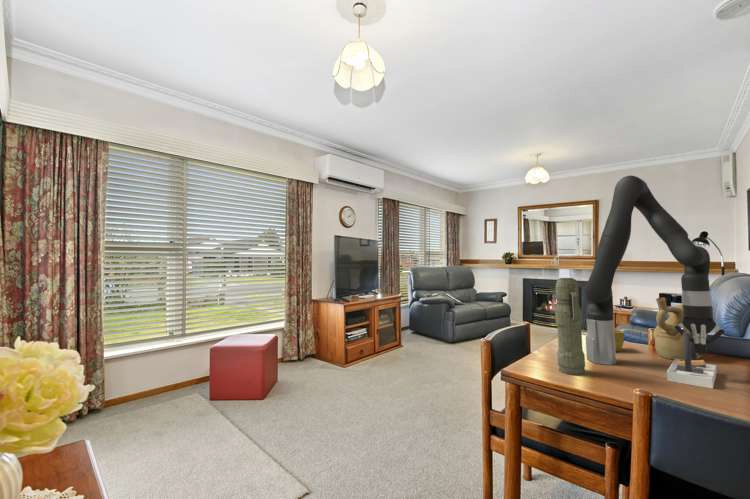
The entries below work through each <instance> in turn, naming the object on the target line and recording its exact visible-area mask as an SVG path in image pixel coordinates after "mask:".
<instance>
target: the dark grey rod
mask: <svg viewBox="0 0 750 499" xmlns="http://www.w3.org/2000/svg"><path fill="white" fill-rule="evenodd" d="M689 335H690V336H691V337H692V338H693V335H692V332H690V331H689ZM690 350H691V360H697V353H696V352H695V345H694V343H693V342H691V341H690Z"/></svg>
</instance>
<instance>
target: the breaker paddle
mask: <svg viewBox="0 0 750 499" xmlns="http://www.w3.org/2000/svg"><path fill="white" fill-rule="evenodd" d="M705 362H706V361H705V360H704V359H698V360H692V361H691V365H692V367H693V365H705ZM677 364H678V365H684V366H685V361H678V362H677Z"/></svg>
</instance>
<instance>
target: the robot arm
mask: <svg viewBox="0 0 750 499" xmlns="http://www.w3.org/2000/svg"><path fill="white" fill-rule="evenodd" d="M635 208H636V209H637V210H638V211H639V212H640V213H641V215H643V217H644V218H645V220H646V221H647V222H648V224H649V226H650V227H651V228H652V230H653V231H654V233H655V234H656V235H657V236H658V237H659V238H660V239H661V240H662V241H663V243H665V244H666V246H667V248H668V250H669V251H670V253H671V255H672V257H674V259H675V260H676V261H677V262H678V263H679V264H680V265H683V266H684V269H683V270H684V271H683V274H682V275H681V277H680V278H681V281H680V282H681V304H682V307H683V320H682V323H681V324H679V325H676V326H675V329H676V330H677V331H678V332H679V333H680V334H681V335H682V336H683V333H684V332H686V331H685V330H684V329H685V328H684V326H685V327H686V328H687V329H688V330H689V331H690V332H692V335H693V338H692V337H691V336H690V335H689V338H690V341H691V342H693V343H694V345H695V352H696V353H698V355H702V356H705V355H706V354H707V353H708V351H707V345H708V344H713V343H714V342H715V341H717V339H719V338H720V337H721V336H722V335H723V334H724V333H725V331H726V330H725V328H723V327H722V328H721V327H720V326H718V325H717V322H716V321H715V319H714V307H713V299H712V294H711V287H710V280H709V279H710V278H709V275H710V269H711V268H710V267H711V256H710V253H709V251H708V250H707V248H705V247H703V246H699V245H695V244H694V243H693V241H692V240H691V239H690V237H689V234H688V232H687V230H686V229H685V228H684V227H683V226H682V225H681V224H680V223H679V222H678V221H677V220H676V219H675V217H673V216H672V215H671V214H670V213H669V212H668V211H667V210H666V209H665V208H664V207H663V206H662V205H661V204H660V203H659V202H658V200H657V199H656V198H655V196H654V194H653V193H652V191H651V190H650V188H649V186H648V184H647V182H646V181H645V180H643V179H642V178H640V177H638V176H635V175H626V176H623V177H622V178H620V179H619V180H618V181H617V183H616V185H615V186H614V191H613V196H612V201H611V207H610V210H609V213H608V216H607V219H606V222H605V225H604V228H603V231H602V232H601V236H600V240H599V242H598V246H597V249H596V255H595V259H594V264H593V265H594V266H593V268H592V271H591V274H590V276H589V278H588V280H587V282H586V284H585V286H584V289H583V291H584V292H583V293H584V296H585V298H586V300H585V301H586V311H585V312H586V313H585V315H586V316H585V317H586V329H587V333H586V334H587V335H586V336H585V350H586V360H588V361H589V362H591V363H593V364H598V365H599V364H601V365H616V364H617V353H616V352H617V351H616V350H615V335H614V329H615V325H614V324H615V322H614V321H615V320H614V300H613V299H614V297H613V289H612V288H613V282H614V277H615V274H616V270H617V269H618V268H619V265H620V263H621V261H622V260H623V257H624V255H625V253H626V251H627V247H628V245H629V242H630V239H631V234H632V233H631V232H632V216H633V215H632V214H633V212H634V209H635ZM712 330H714V334H712V336H710V337H709V338H707V335H708V334H710V333H711V331H712ZM698 333H700V334H701V343H699V335H698Z"/></svg>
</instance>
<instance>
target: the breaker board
mask: <svg viewBox="0 0 750 499" xmlns="http://www.w3.org/2000/svg"><path fill="white" fill-rule="evenodd" d="M678 361H685V359H675V360H673V361H672V363H671V364H670V366H669V367H668V368H667V370H666V381H668V382H673V383H680V384H685V385H690V386H691V385H692V386H695V387H696V386H697V387H702V388H708V389H711V390H712V389H714V386H715V382H716V378H717V375H716V374H718V373H717V364H716V365H715V364H710V363H706V361H704V362H705V365H693V367H692V372H687V371H685V366H684V365H678V364H677V362H678ZM691 361H692V360H691Z"/></svg>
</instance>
